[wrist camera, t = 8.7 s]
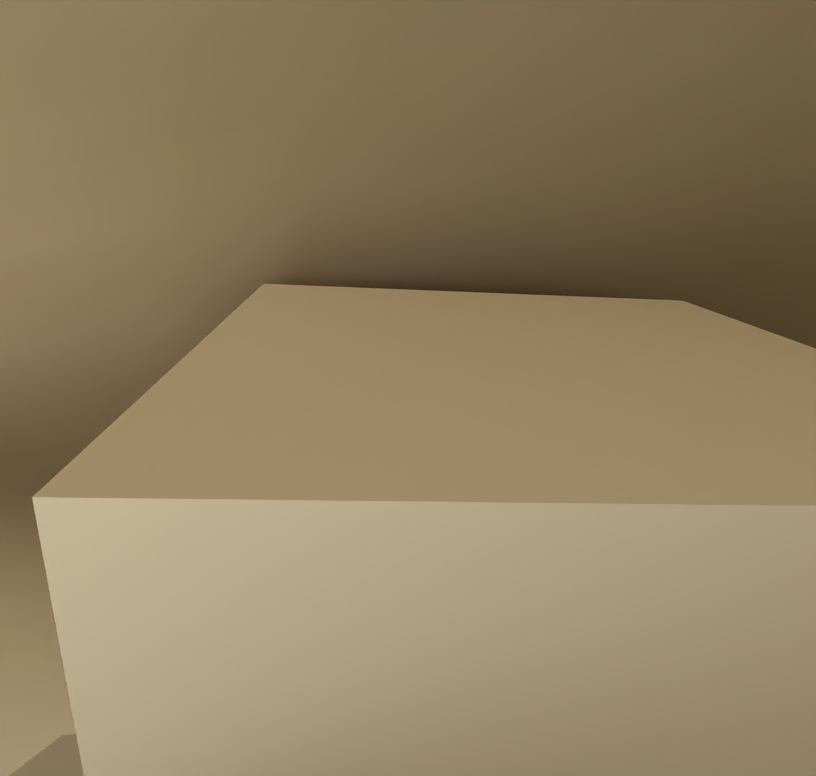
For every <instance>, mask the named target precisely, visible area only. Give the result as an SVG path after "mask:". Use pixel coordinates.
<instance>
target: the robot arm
mask: <svg viewBox="0 0 816 776" xmlns="http://www.w3.org/2000/svg"><path fill="white" fill-rule="evenodd" d="M9 776H84V774H83V769H82V763H81V758H80V752H79V747H78V742H77V736H76V733H75V735H62V736H61V737H59V738H58V739H57V740H55V741H54V742H53V743H51V744H50V745H49V746H47V747H46V748H45V749H44V750H42V751H41V752H40V753H38V754H37V755H36V756H34V757H33V758H32V759H30V760H29V761H28V762H26V763H25V764H24V765H23V766H21V767H20V768H19V769H17V770H16V771H15V772H13V773H12V774H11V775H9Z"/></svg>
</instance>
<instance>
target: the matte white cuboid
mask: <svg viewBox="0 0 816 776" xmlns="http://www.w3.org/2000/svg"><path fill="white" fill-rule="evenodd" d="M32 500H33V505H34V511H35V516H36V521H37V527H38V532H39V538H40V543H41V548H42V554H43V559H44V564H45V570H46V575H47V581H48V586H49V591H50V597H51V602H52V607H53V613H54V618H55V624H56V629H57V634H58V640H59V645H60V650H61V656H62V661H63V666H64V672H65V677H66V683H67V688H68V693H69V699H70V704H71V709H72V715H73V720H74V726H75V731H76V736H77V742H78V747H79V752H80V758H81V763H82V769H83V774H84V776H816V348H813V347H810V346H807V345H804V344H802V343H799V342H796V341H793V340H791V339H788V338H785V337H782V336H780V335H777V334H774V333H771V332H768V331H766V330H763V329H760V328H757V327H755V326H752V325H749V324H746V323H743V322H741V321H738V320H735V319H732V318H730V317H727V316H724V315H721V314H718V313H716V312H713V311H710V310H707V309H705V308H702V307H699V306H696V305H693V304H691V303H688V302H685V301H679V300H654V299H629V298H604V297H580V296H555V295H530V294H505V293H480V292H456V291H431V290H406V289H381V288H357V287H332V286H307V285H282V284H263V285H261V286H260V287H259V288H258V289H257V290H256V291H255V292H254V293H253V294H252V295H251V296H250V297H248V298H247V299H246V300H245V301H244V302H243V303H242V304H241V305H240V306H239V307H238V308H237V309H235V310H234V311H233V312H232V313H231V314H230V315H229V316H228V317H227V318H226V319H225V320H224V321H222V322H221V323H220V324H219V325H218V326H217V327H216V328H215V329H214V330H213V331H212V332H211V333H209V334H208V335H207V336H206V337H205V338H204V339H203V340H202V341H201V342H200V343H199V344H198V345H196V346H195V347H194V348H193V349H192V350H191V351H190V352H189V353H188V354H187V355H186V356H185V357H183V358H182V359H181V360H180V361H179V362H178V363H177V364H176V365H175V366H174V367H173V368H172V369H170V370H169V371H168V372H167V373H166V374H165V375H164V376H163V377H162V378H161V379H160V380H159V381H157V382H156V383H155V384H154V385H153V386H152V387H151V388H150V389H149V390H148V391H147V392H146V393H144V394H143V395H142V396H141V397H140V398H139V399H138V400H137V401H136V402H135V403H134V404H133V405H131V406H130V407H129V408H128V409H127V410H126V411H125V412H124V413H123V414H122V415H121V416H120V417H118V418H117V419H116V420H115V421H114V422H113V423H112V424H111V425H110V426H109V427H108V428H107V429H105V430H104V431H103V432H102V433H101V434H100V435H99V436H98V437H97V438H96V439H95V440H94V441H92V442H91V443H90V444H89V445H88V446H87V447H86V448H85V449H84V450H83V451H82V452H81V453H79V454H78V455H77V456H76V457H75V458H74V459H73V460H72V461H71V462H70V463H69V464H68V465H66V466H65V467H64V468H63V469H62V470H61V471H60V472H59V473H58V474H57V475H56V476H55V477H53V478H52V479H51V480H50V481H49V482H48V483H47V484H46V485H45V486H44V487H43V488H42V489H40V490H39V491H38V492H37V493H36V494H35V495H34V496H33V497H32Z"/></svg>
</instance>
